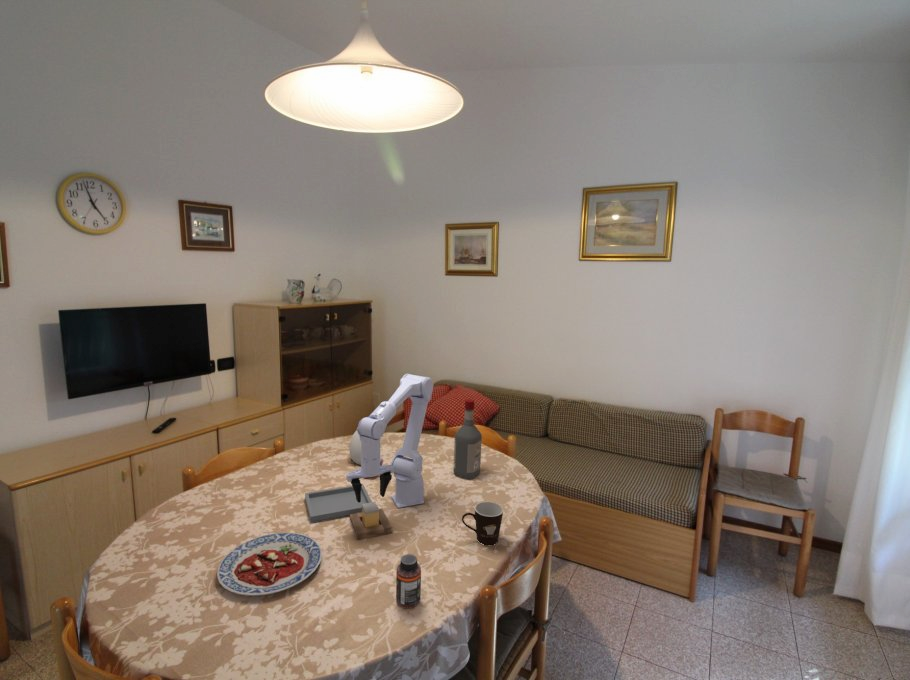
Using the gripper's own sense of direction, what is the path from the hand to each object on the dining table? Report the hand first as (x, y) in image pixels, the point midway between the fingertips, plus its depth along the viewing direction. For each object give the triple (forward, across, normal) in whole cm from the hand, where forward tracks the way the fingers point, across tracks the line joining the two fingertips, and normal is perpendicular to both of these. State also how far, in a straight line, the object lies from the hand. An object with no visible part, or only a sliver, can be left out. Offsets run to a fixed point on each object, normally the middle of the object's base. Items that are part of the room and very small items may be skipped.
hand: (370, 498), depth 142 cm
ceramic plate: (+10, +30, +7) cm, 32 cm away
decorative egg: (+10, -14, -47) cm, 50 cm away
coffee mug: (+10, -28, +21) cm, 36 cm away
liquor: (+9, -46, -18) cm, 51 cm away
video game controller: (+10, -13, -34) cm, 38 cm away
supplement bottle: (+10, +3, +35) cm, 36 cm away
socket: (+9, 0, 0) cm, 9 cm away
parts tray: (+9, +5, -17) cm, 20 cm away
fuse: (+9, 0, 0) cm, 9 cm away
